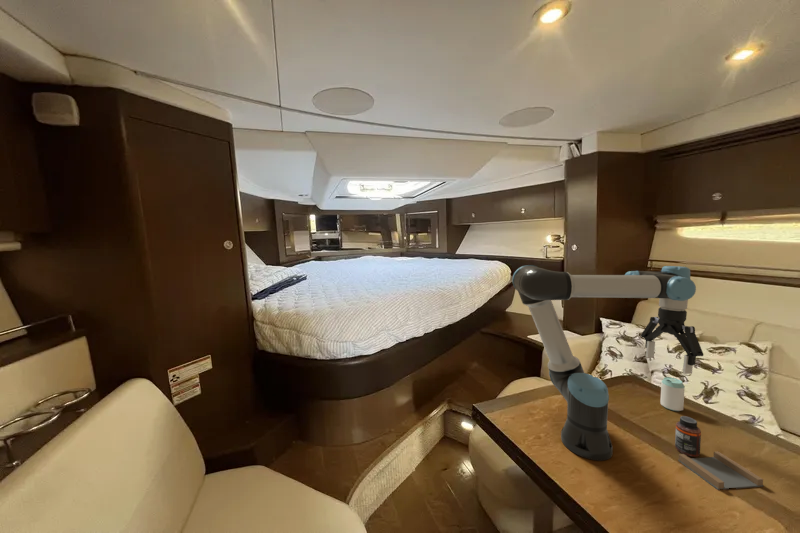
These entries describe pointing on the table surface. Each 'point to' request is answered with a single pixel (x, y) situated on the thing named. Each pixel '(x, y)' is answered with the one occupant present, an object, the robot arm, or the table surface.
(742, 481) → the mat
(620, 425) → the table surface
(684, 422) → the supplement bottle
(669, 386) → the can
